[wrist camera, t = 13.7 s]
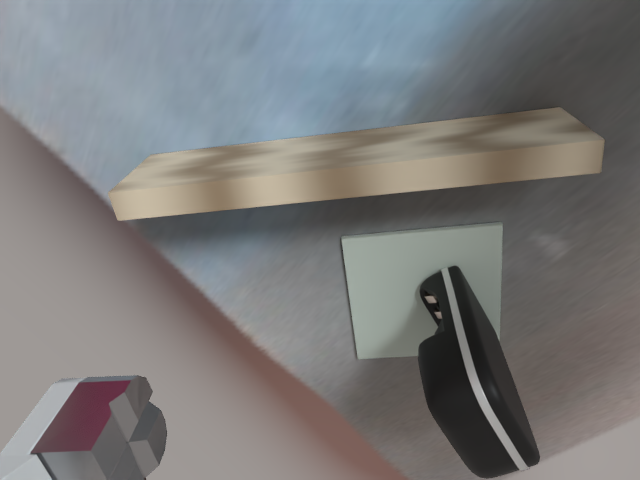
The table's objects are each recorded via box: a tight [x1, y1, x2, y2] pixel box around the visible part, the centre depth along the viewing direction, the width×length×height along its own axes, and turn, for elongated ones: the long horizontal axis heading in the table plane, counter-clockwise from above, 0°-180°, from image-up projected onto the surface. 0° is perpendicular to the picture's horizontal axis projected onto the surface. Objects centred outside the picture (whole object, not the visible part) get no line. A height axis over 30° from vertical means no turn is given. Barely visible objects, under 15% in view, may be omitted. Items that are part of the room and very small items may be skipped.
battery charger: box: [418, 266, 540, 478], centre depth 30 cm, size 7×4×11 cm, turn 31°
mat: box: [341, 222, 503, 359], centre depth 35 cm, size 10×10×1 cm
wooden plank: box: [108, 107, 605, 221], centre depth 28 cm, size 24×2×6 cm, turn 98°
